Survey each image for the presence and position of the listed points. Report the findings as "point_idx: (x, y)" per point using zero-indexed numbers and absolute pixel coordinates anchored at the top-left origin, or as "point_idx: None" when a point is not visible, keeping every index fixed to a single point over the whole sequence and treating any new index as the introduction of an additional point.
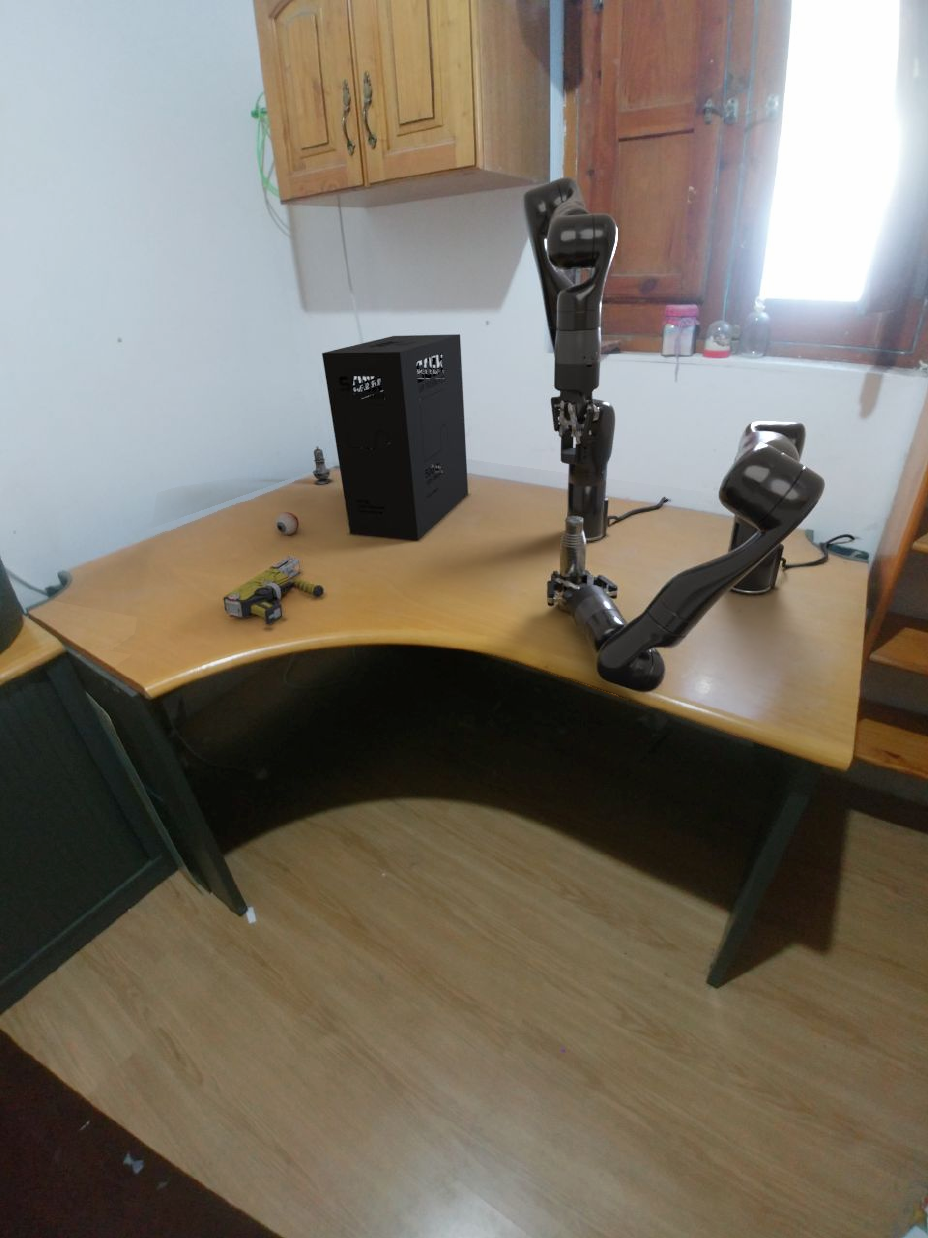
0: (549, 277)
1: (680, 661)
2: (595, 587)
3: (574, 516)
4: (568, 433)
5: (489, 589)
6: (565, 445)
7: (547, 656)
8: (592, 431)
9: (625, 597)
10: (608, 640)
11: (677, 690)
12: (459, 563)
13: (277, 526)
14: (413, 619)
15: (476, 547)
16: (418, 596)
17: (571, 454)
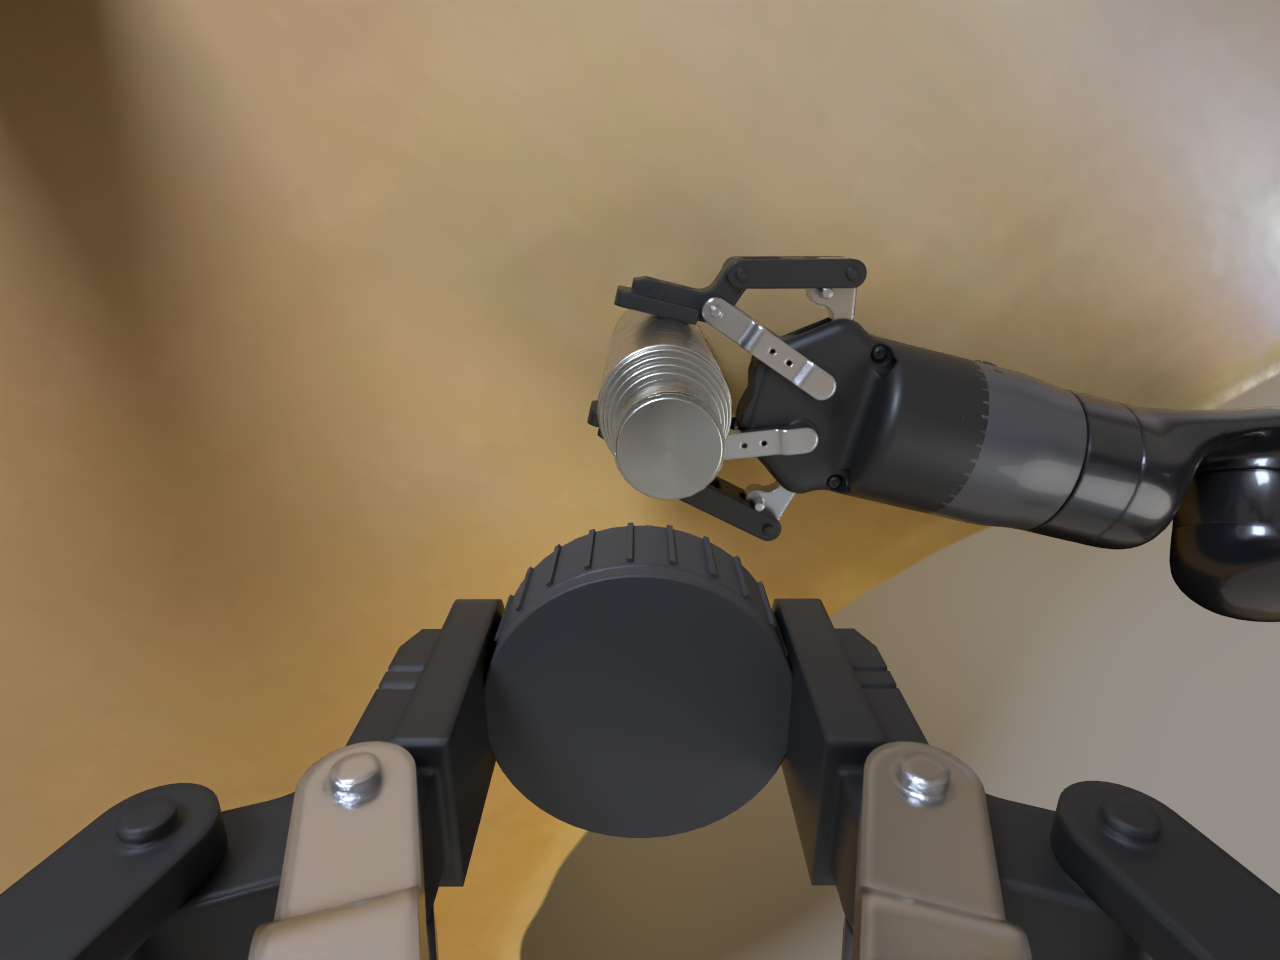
0: None
1: (1158, 216)
2: (920, 426)
3: (632, 427)
4: (429, 856)
5: (413, 544)
6: (483, 773)
7: (891, 564)
8: (1142, 946)
9: (698, 103)
10: (1256, 598)
11: (1253, 330)
12: (154, 558)
13: None
14: (515, 798)
15: (5, 441)
16: None
17: (748, 797)
